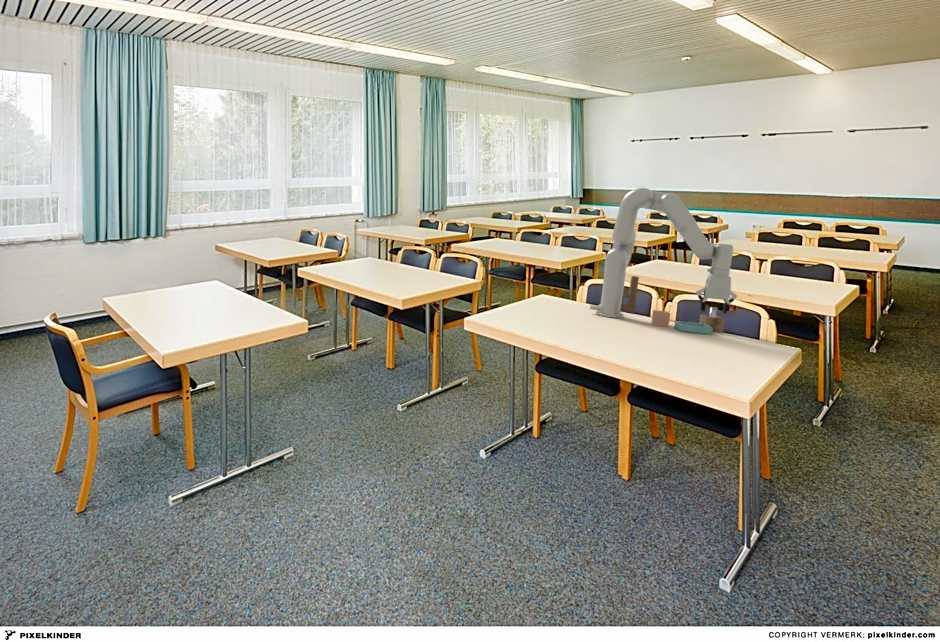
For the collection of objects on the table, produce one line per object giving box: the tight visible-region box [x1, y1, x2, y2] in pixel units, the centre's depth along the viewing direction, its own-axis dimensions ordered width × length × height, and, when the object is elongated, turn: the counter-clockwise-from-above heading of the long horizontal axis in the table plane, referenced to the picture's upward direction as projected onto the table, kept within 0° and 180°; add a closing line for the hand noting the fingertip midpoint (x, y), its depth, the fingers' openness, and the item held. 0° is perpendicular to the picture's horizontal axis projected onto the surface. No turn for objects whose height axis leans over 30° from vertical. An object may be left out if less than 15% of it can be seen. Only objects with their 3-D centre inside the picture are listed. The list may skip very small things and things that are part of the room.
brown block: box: [698, 314, 726, 334], centre depth 256 cm, size 8×8×6 cm
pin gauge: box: [708, 306, 719, 318], centre depth 256 cm, size 3×3×10 cm
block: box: [651, 309, 671, 328], centre depth 258 cm, size 6×6×6 cm
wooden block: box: [621, 275, 640, 314], centre depth 291 cm, size 4×11×18 cm, turn 52°
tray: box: [673, 320, 713, 335], centre depth 249 cm, size 13×10×3 cm
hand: (713, 311), depth 255 cm, fingers open, 8 cm apart
